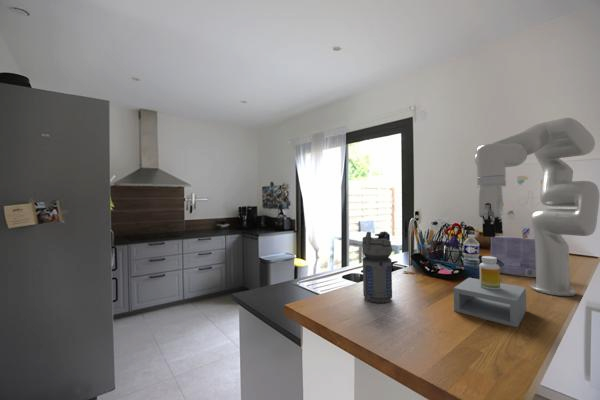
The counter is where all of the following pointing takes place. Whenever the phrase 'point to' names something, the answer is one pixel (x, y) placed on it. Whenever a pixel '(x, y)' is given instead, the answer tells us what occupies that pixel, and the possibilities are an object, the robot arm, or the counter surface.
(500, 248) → the cake pan box
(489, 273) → the supplement bottle
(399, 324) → the counter surface
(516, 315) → the shelf unit
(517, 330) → the counter surface
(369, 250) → the beverage bottle
